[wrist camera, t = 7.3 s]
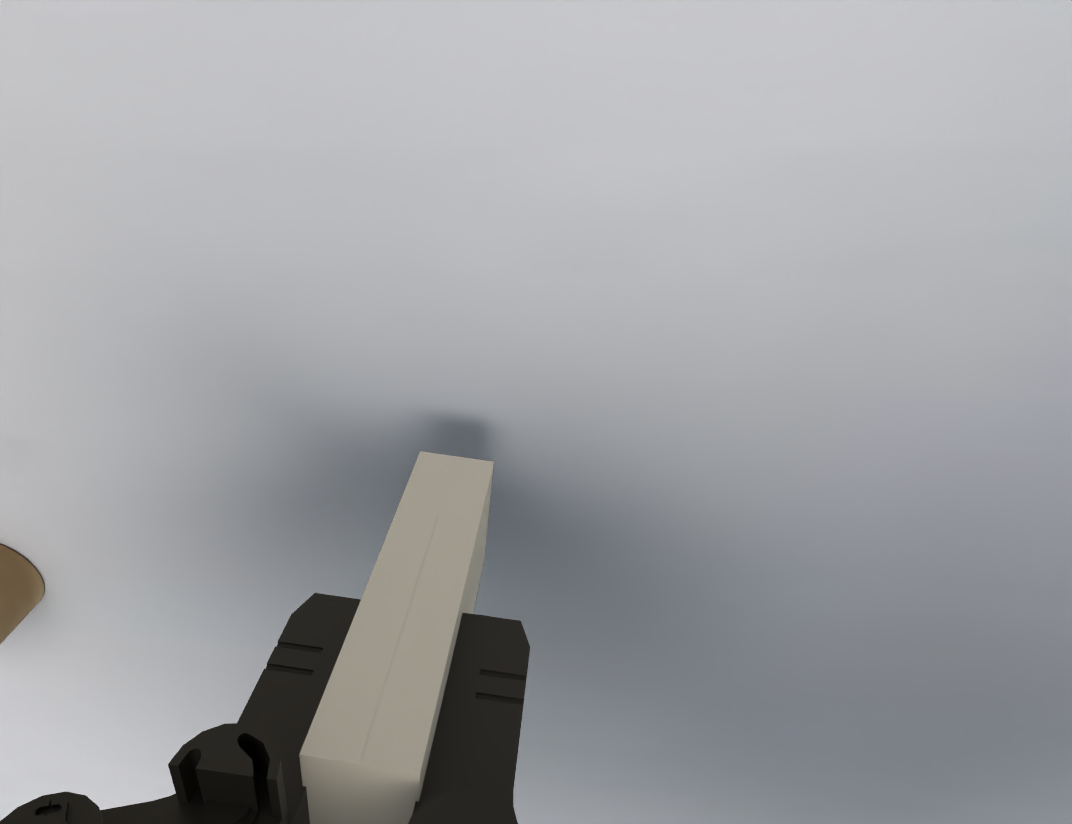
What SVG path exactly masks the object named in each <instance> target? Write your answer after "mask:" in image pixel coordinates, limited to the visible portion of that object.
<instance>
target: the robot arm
mask: <svg viewBox="0 0 1072 824" xmlns="http://www.w3.org/2000/svg"><path fill="white" fill-rule="evenodd" d="M493 466H494V462H493V461H486V460H479V459H472V458H465V457H457V456H450V455H443V454H436V453H429V452H422V451H420V453H419V455H418V458H417V460H416V463H415V465H414V468H413V470H412V473H411V475H410V478H409V480H408V483H407V485H406V488H405V490H404V493H403V495H402V498H401V501H400V503H399V506H398V508H397V511H396V513H395V516H394V518H393V521H392V523H391V526H390V528H389V531H388V533H387V536H386V538H385V541H384V543H383V546H382V548H381V551H380V553H379V556H378V558H377V561H376V563H375V566H374V568H373V571H372V573H371V576H370V578H369V581H368V583H367V586H366V588H365V591H364V593H363V596H362V598H361V600H360V599H353V598H346V597H339V596H332V595H325V594H318V593H314V594H313V595H312V596H311V597H310V598H309V599H308V600H307V601H306V602H305V603H303V604H302V605H301V606H300V607H299V608H298V609H297V610H296V611H295V612H294V613H292V614H291V616H290V618H289V620H288V622H287V624H286V626H285V628H284V630H283V632H282V634H281V636H280V638H279V640H278V645H277V647H275V648H274V650H273V652H272V654H271V656H270V658H269V660H268V662H267V667H266V669H264V670H263V672H262V674H261V676H260V678H259V680H258V682H257V684H256V686H255V688H254V690H253V692H252V694H251V696H250V699H249V701H248V703H247V705H246V707H245V709H244V711H243V713H242V715H241V717H240V719H239V721H238V723H234V724H223V725H220V726H217V727H214V728H211V729H209V730H206V731H203V732H201V733H200V734H199V735H197V736H196V737H194V738H193V739H192V740H190V741H189V742H187V743H186V744H184V745H183V746H182V747H181V749H180V750H179V751H178V752H177V754H176V755H175V756H174V758H173V759H172V760H171V761H170V763H169V764H168V766H169V769H170V773H171V776H172V780H173V784H174V787H175V791H176V794H174V795H172V796H169V797H165V798H162V799H158V800H155V801H150V802H145V803H139V804H133V805H128V806H122V807H117V808H111V809H105V810H100V809H99V807H98V806H97V805H96V804H95V803H94V802H93V801H91V800H90V799H89V798H88V797H87V796H85V795H80V794H75V793H70V792H61V793H56V794H50V795H44V796H41V797H39V798H37V799H35V800H32V801H30V802H28V803H26V804H24V805H22V806H20V807H18V808H16V809H15V810H14V811H13V812H11V813H10V814H9V815H8V816H6V817H5V818H4V819H3V820H1V821H0V824H518V823H517V820H516V816H515V812H514V808H513V788H514V779H515V771H516V762H517V754H518V745H519V737H520V728H521V720H522V711H523V702H524V694H525V686H526V677H527V669H528V660H529V652H530V646H529V643H528V640H527V637H526V635H525V632H524V629H523V626H522V623H521V621H517V620H510V619H503V618H496V617H490V616H483V615H476V614H473V612H474V607H475V603H476V598H477V593H478V589H479V584H480V579H481V575H482V570H483V565H484V559H485V549H486V539H487V528H488V518H489V507H490V497H491V487H492V476H493Z"/></svg>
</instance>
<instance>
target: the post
mask: <svg viewBox="0 0 1072 824" xmlns="http://www.w3.org/2000/svg"><path fill="white" fill-rule="evenodd" d="M43 595H44V584H43V581H42V578H41V576H40V575H39V573H38V572H37V570H36V569H35V568H34V567H33V566H32V564H31V563H30V562H28V561H27V560H26V559H25V558H24V557H22V556H21V555H20V554H18V553H16V552H15V551H13V550H11V549H9V548H7V547H5V546H3V545H0V644H1V643H2V642H3V641H4V640H5V638H6V637H7V636H8V635H9V634H10V633H11V632H12V631H13V630H14V629H15V628H16V626H17V625H18V624H19V623H20V622H21V621H22V620H23V619H24V618H25V617H26V615H27V614H28V613H29V612H30V611H31V610H32V609H33V608H34V607H35V606H36V605H37V603H38V602H39V601H40V600H41V599H42V597H43Z"/></svg>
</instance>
